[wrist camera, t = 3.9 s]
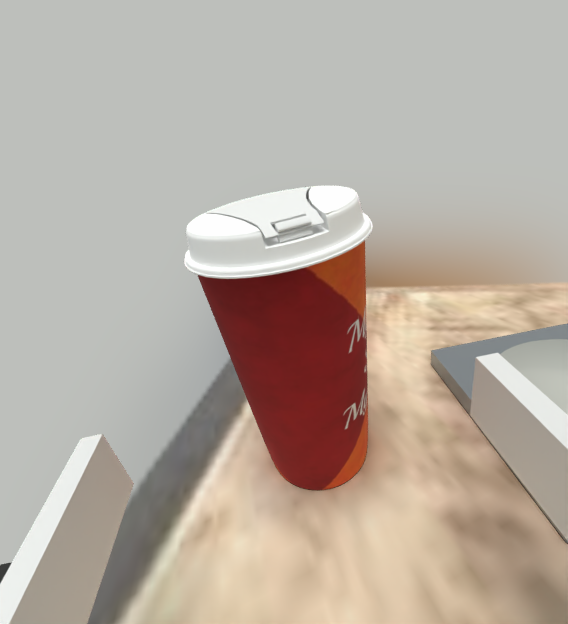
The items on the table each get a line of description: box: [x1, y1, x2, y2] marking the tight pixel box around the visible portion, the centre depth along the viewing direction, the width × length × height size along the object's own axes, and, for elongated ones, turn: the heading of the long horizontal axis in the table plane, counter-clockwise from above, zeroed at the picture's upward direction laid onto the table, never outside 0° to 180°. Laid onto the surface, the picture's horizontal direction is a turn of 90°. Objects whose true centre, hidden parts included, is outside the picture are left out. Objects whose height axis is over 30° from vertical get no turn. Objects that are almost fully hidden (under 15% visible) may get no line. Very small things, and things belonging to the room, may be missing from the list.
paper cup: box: [184, 186, 373, 490], centre depth 17 cm, size 8×8×14 cm
